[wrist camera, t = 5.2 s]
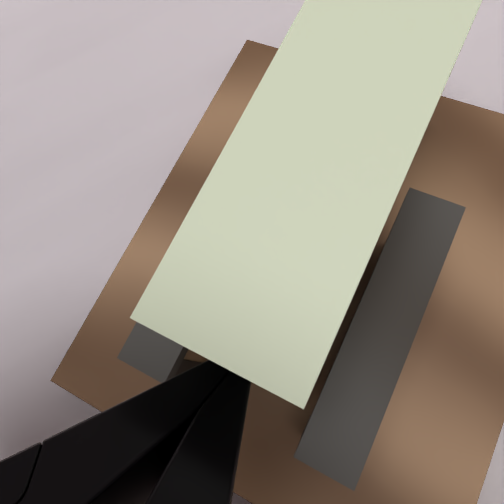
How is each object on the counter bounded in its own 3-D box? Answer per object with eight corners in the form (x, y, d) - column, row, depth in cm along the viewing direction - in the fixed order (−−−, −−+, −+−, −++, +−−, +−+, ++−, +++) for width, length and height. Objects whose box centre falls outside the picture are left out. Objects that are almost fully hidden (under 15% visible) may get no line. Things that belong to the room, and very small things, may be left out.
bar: (310, 395, 13) (304, 409, 6) (228, 353, 14) (130, 317, 7) (431, 117, 16) (538, -129, 8) (355, 94, 16) (388, -151, 9)
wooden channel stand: (429, 599, 12) (511, 753, 7) (66, 380, 16) (-53, 379, 11) (579, 155, 16) (708, 43, 11) (250, 56, 19) (226, -64, 14)
